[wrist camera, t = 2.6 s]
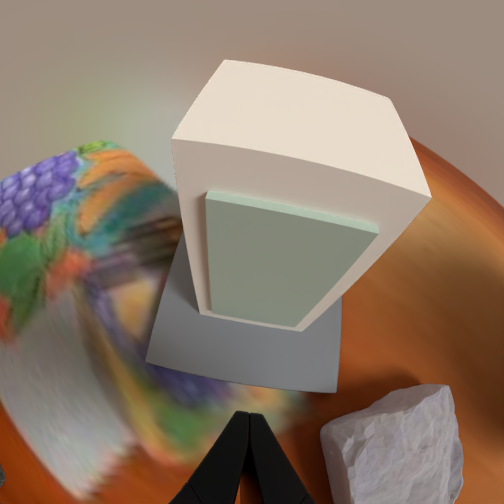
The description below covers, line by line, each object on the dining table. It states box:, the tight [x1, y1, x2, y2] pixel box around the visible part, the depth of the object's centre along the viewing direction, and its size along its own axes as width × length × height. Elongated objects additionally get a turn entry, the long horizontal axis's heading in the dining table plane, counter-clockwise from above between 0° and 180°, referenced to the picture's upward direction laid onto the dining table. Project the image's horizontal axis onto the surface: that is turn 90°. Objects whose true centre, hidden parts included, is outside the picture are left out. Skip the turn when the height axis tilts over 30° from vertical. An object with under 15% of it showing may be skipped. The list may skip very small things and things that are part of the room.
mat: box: [145, 229, 342, 393], centre depth 20 cm, size 22×11×1 cm, turn 171°
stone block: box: [320, 383, 463, 504], centre depth 11 cm, size 12×5×10 cm
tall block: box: [171, 60, 432, 332], centre depth 12 cm, size 5×6×12 cm
